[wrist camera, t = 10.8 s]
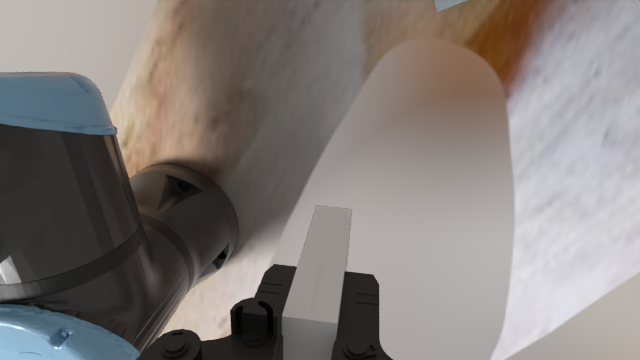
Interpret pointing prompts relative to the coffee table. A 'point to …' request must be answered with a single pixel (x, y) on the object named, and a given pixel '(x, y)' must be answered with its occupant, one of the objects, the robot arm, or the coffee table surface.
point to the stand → (446, 4)
